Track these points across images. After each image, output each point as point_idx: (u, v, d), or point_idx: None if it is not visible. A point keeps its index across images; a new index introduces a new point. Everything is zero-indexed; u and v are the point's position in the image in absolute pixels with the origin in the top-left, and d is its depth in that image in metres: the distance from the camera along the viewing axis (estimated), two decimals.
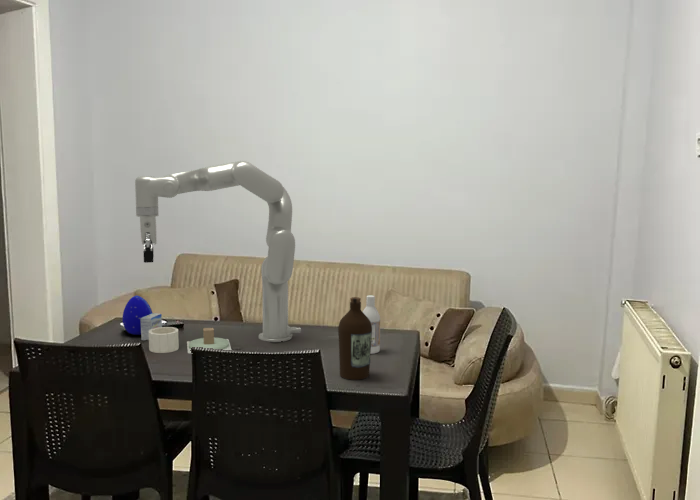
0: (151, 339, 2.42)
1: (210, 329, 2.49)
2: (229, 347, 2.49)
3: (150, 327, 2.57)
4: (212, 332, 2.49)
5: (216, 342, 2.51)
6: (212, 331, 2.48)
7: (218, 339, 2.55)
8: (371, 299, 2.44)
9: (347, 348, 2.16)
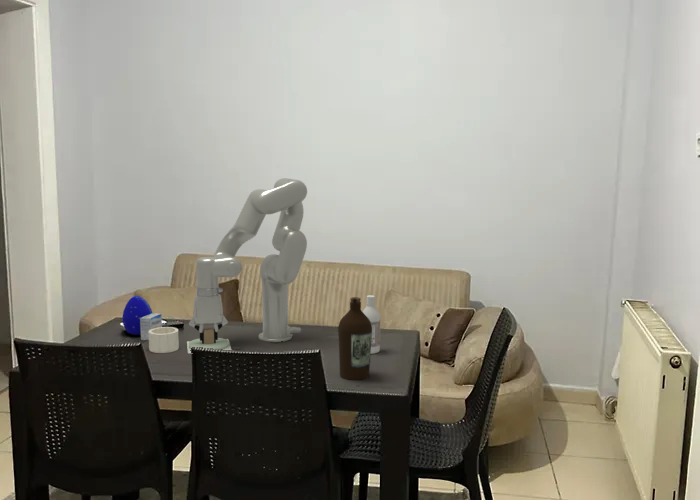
0: (151, 339, 2.42)
1: (210, 329, 2.49)
2: (229, 347, 2.49)
3: (149, 327, 2.57)
4: (212, 332, 2.49)
5: (216, 342, 2.51)
6: (212, 331, 2.48)
7: (218, 339, 2.55)
8: (371, 299, 2.44)
9: (347, 348, 2.16)
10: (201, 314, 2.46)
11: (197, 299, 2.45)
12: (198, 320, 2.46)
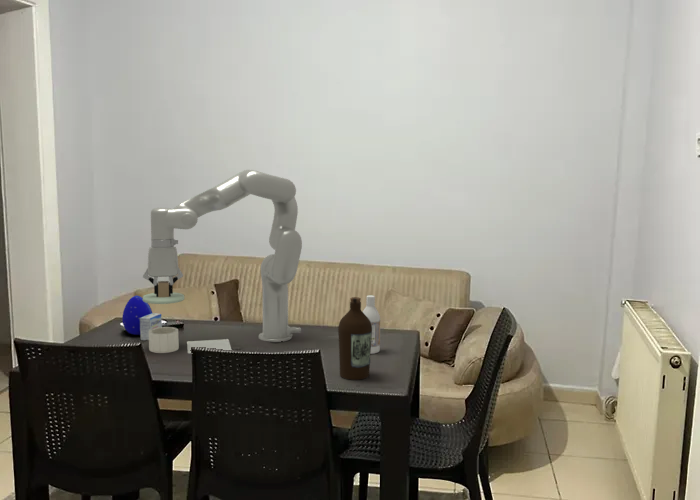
0: (151, 339, 2.42)
1: (165, 282, 2.43)
2: (229, 347, 2.49)
3: (149, 327, 2.57)
4: (167, 285, 2.42)
5: (171, 296, 2.44)
6: (167, 284, 2.42)
7: (174, 293, 2.48)
8: (371, 299, 2.44)
9: (347, 348, 2.16)
10: (155, 266, 2.40)
11: (151, 250, 2.39)
12: (152, 272, 2.40)
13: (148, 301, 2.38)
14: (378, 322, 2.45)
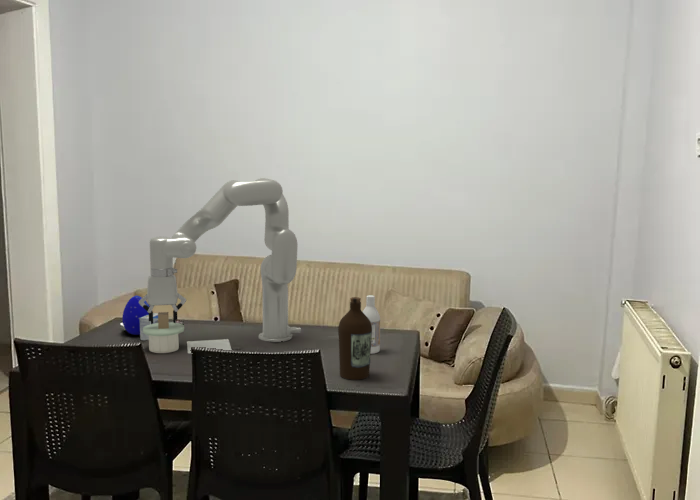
0: (151, 339, 2.42)
1: (165, 313, 2.45)
2: (229, 347, 2.49)
3: None
4: (167, 316, 2.44)
5: (171, 327, 2.46)
6: (167, 315, 2.44)
7: (174, 324, 2.50)
8: (371, 299, 2.44)
9: (347, 348, 2.16)
10: (155, 295, 2.41)
11: (150, 280, 2.40)
12: (152, 301, 2.41)
13: (148, 333, 2.40)
14: (378, 322, 2.45)
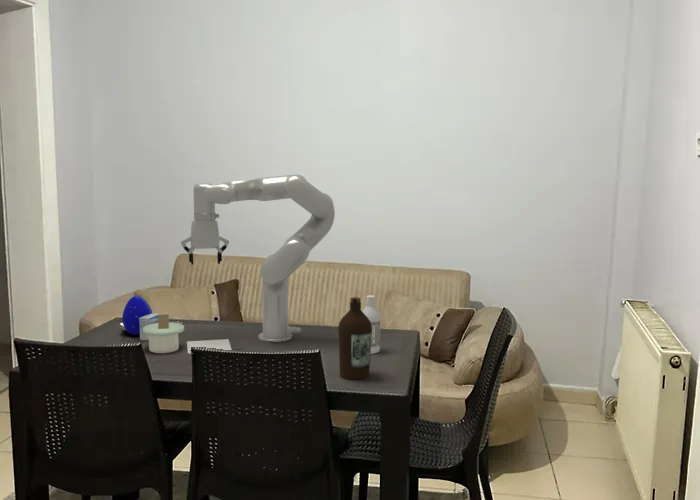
0: (151, 339, 2.42)
1: (165, 313, 2.45)
2: (229, 347, 2.49)
3: None
4: (167, 316, 2.44)
5: (171, 327, 2.46)
6: (167, 315, 2.44)
7: (174, 324, 2.50)
8: (371, 299, 2.44)
9: (347, 348, 2.16)
10: (198, 238, 2.54)
11: (194, 224, 2.53)
12: (195, 244, 2.54)
13: (148, 333, 2.40)
14: (378, 322, 2.45)
